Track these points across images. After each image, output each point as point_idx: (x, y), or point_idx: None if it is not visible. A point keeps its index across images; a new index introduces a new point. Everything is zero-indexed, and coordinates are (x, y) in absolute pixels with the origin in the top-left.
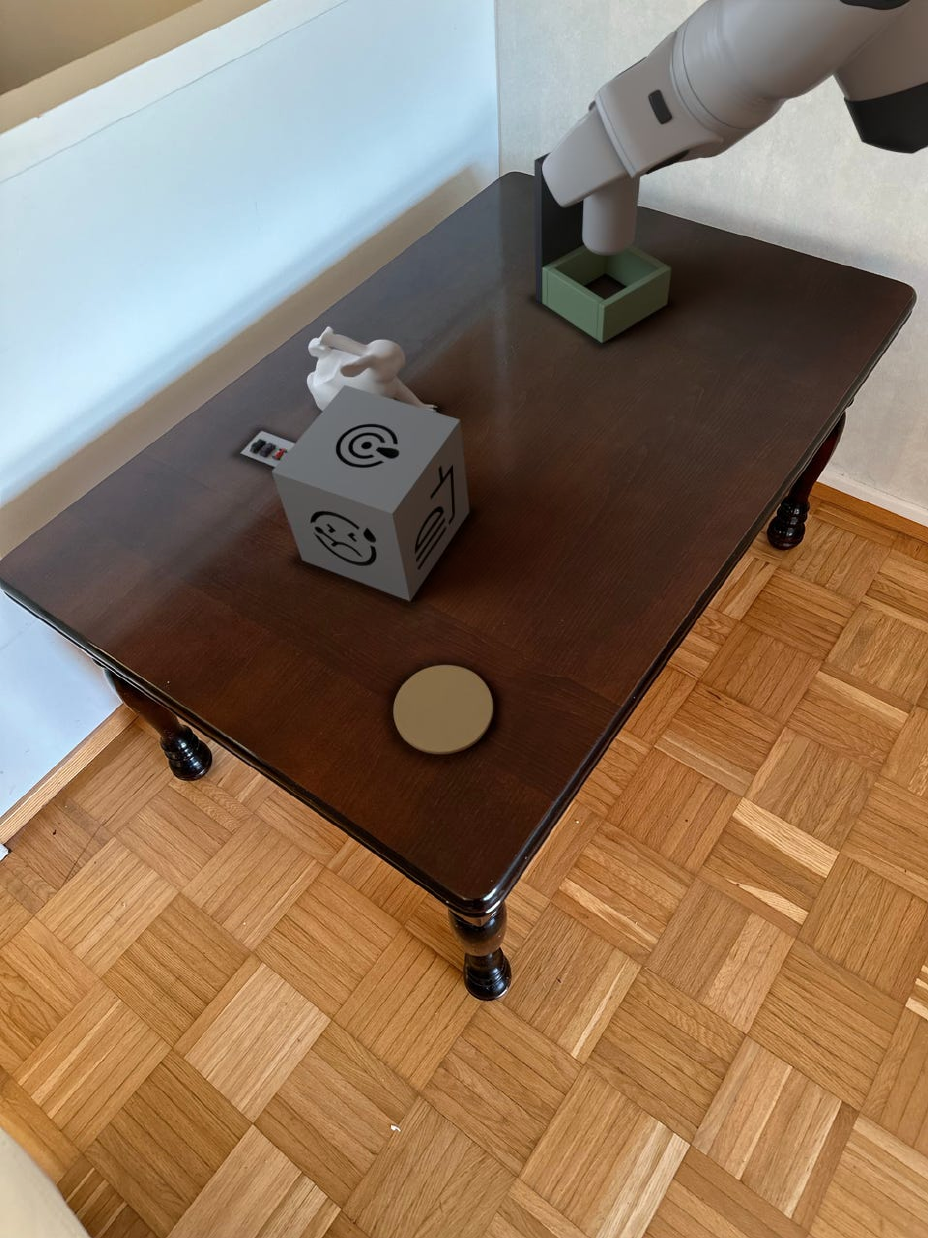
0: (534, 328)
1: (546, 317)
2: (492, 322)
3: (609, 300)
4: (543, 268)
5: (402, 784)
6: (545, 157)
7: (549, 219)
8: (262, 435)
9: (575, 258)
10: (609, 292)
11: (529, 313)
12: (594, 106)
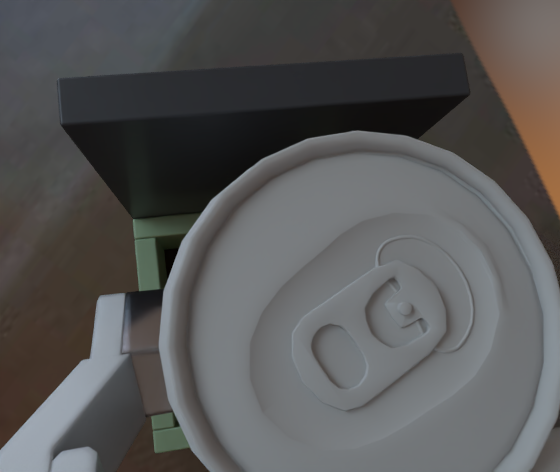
0: (78, 296)
1: (123, 280)
2: (16, 222)
3: (181, 438)
4: (133, 223)
5: None
6: (107, 94)
7: (142, 188)
8: None
9: None
10: None
11: (101, 246)
12: (280, 192)
